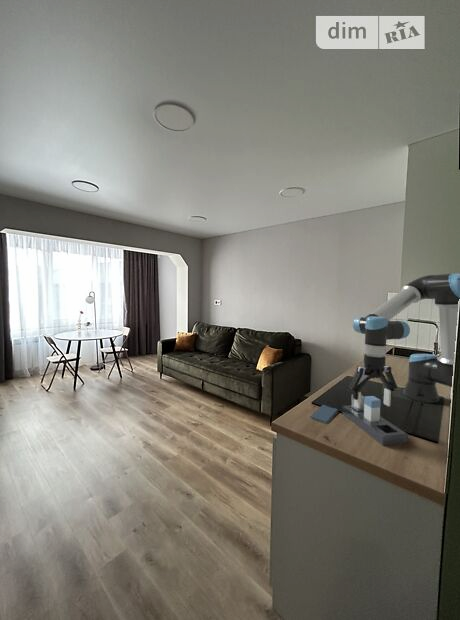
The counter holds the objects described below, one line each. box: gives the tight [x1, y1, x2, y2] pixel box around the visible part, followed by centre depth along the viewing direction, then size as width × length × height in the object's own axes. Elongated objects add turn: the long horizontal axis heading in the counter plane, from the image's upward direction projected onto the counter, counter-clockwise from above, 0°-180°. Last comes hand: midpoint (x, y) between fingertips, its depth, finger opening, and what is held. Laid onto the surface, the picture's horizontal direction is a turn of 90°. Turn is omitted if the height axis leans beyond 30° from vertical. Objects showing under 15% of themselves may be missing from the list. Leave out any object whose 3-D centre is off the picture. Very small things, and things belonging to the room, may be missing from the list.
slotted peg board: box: [341, 394, 408, 446], centre depth 102 cm, size 10×24×9 cm, turn 9°
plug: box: [364, 395, 382, 422], centre depth 101 cm, size 4×4×12 cm
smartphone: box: [310, 404, 339, 425], centre depth 111 cm, size 8×2×15 cm
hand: (372, 406), depth 101 cm, fingers open, 13 cm apart
